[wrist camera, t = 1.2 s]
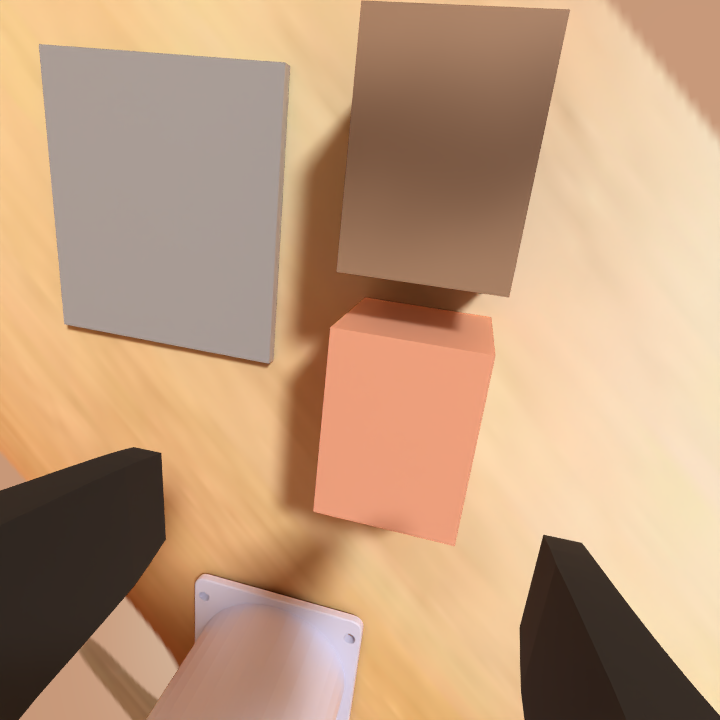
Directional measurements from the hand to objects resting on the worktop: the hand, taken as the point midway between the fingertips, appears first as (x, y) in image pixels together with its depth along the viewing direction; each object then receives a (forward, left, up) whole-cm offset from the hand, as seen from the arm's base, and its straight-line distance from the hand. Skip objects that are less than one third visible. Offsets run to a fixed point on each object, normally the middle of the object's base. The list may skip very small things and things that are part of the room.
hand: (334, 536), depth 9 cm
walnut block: (+7, 0, -10) cm, 12 cm away
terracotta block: (-1, 0, -10) cm, 10 cm away
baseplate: (+4, +10, -10) cm, 14 cm away
